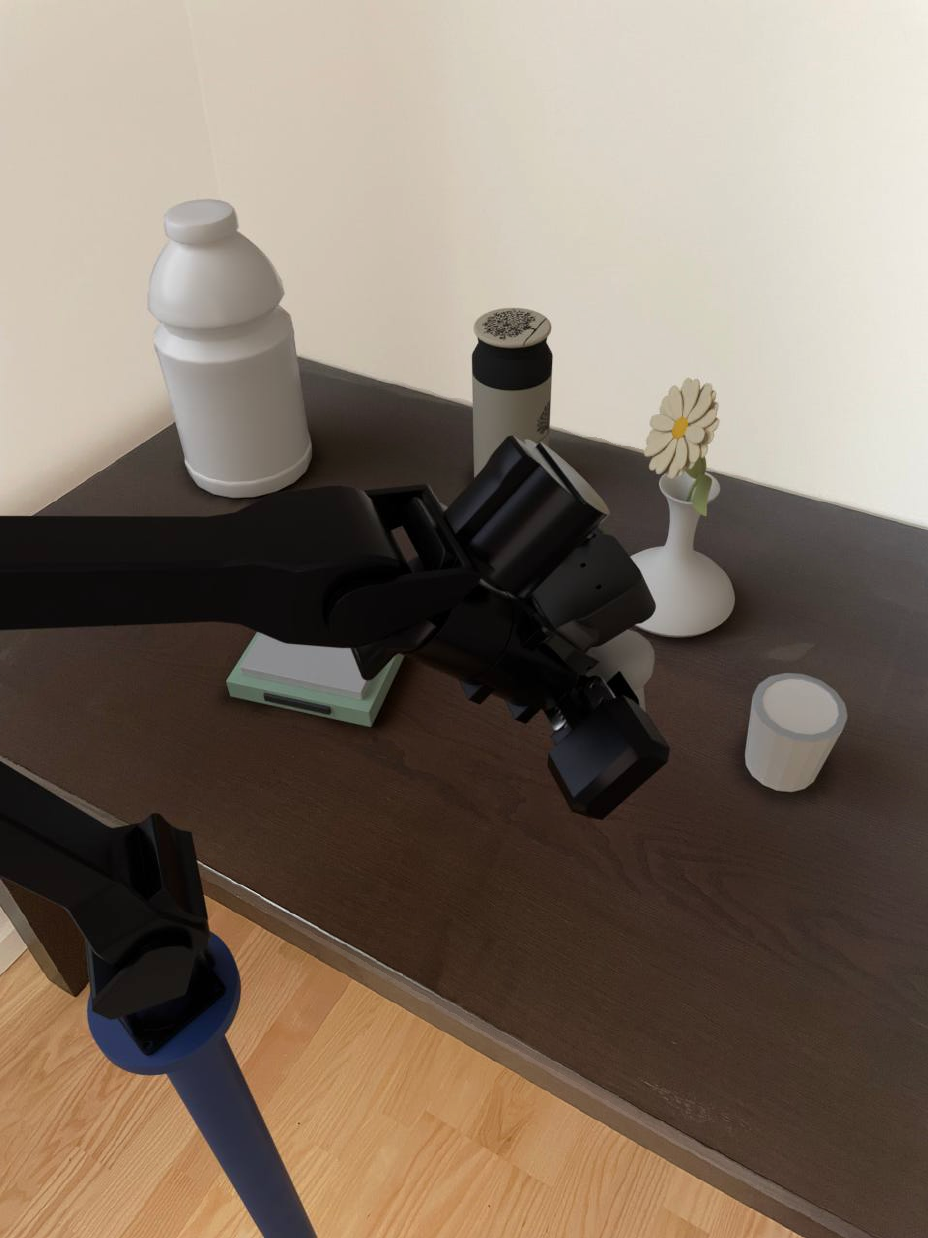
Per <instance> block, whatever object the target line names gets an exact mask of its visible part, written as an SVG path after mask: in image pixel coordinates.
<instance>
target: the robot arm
mask: <svg viewBox="0 0 928 1238" xmlns="http://www.w3.org/2000/svg"><path fill="white" fill-rule="evenodd" d="M610 512H611V511H610V509H609V507H608V506H607V504H606V503H605V502H604V500H603V499H602V497H601V496H600V495H599V493H598V492H596V490H595V489H594V488H593V487H592V485H590V484H589V482H588V481H586V479H584V477H582V476H581V475H580V474H579V472H577V471H576V470H575V469H574V468H573V467H572V466H571V464H569V463H568V462H567V461H566V460H564V459H563V457H561V456H560V455H559V454H557V453H556V452H555V451H554V450H552V449H551V448H550V446H549V447H547V446H546V445H545V444H543V443H542V442H539V443H538V444H536V443H534V442H533V441H531V440H528V439H526V440H524V441H523V442H522V441H520V440H519V439H517V438H516V437H515V436H513V435H511V436H507V437H506V439H505V440H504V441H503V442H502V443H501V444H500V445H499V446H498V447H497V449H496V450H495V451H494V452H493V453H492V455H491V456H490V458H489V460H488V462H487V463H486V465H485V466H484V468H483V469H482V470H481V471H480V472H479V473H478V474H477V476H476V477H475V478H474V477H473V479H472V480H471V481H470V482H469V484H467V486H465V488H464V489H462V491H461V492H460V493H459V495H457V497H456V498H455V499H453V501H452V502H451V503H450V505H448V506H447V505H445V504H444V503H442V502H440V501H439V499H438V498H437V496H436V494H435V492H434V491H433V489H432V487H431V486H430V484H427V483H421V484H411V485H402V486H391V487H382V488H373V489H363V490H361V489H358V488H356V487H352V486H347V485H342V484H341V485H339V484H338V485H326V486H319V487H311V488H304V489H297V490H296V489H295V490H288V491H281V492H272V493H269V494H267V495H266V496H264V497H262V498H260V499H258V500H257V501H255V502H253V503H250V504H248V505H247V506H245V507H242V508H241V509H239V510H236V511H235V512H229V513H221V514H214V515H205V516H204V515H203V516H201V515H199V516H195V515H193V516H191V515H188V516H185V515H183V516H181V515H172V516H171V515H0V632H1V631H2V632H3V631H23V630H24V631H25V630H28V631H29V630H46V629H47V630H48V629H71V628H73V629H74V628H96V627H99V628H100V627H117V626H118V627H119V626H124V627H125V626H146V625H148V626H149V625H169V624H193V623H222V624H231V625H232V624H233V625H240V626H243V627H244V628H248V629H250V630H252V631H254V632H256V633H257V632H259V633H261V634H264V635H266V636H268V637H271V638H273V639H275V640H278V641H280V642H283V643H286V644H296V645H308V646H320V647H332V648H350V649H351V652H352V654H353V657H354V659H355V662H356V664H357V667H358V669H359V672H360V674H361V677H362V678H363V679H364V680H366V681H369V680H372V679H374V678H375V677H376V676H377V674H378V673H379V672H380V671H381V670H382V669H383V668H384V667H385V666H386V665H387V664H388V663H389V662H390V661H391V660H392V659H393V658H394V657H395V656H396V655H397V654H401V655H404V657H406V658H409V659H411V660H413V661H414V662H417V663H419V664H422V665H424V666H426V667H428V668H431V669H433V670H435V671H438V672H441V673H443V674H445V675H447V676H449V677H451V678H454V679H456V680H458V683H459V684H460V686H461V688H462V690H463V692H464V695H465V696H466V698H467V700H468V701H470V702H472V703H475V704H476V705H479V706H480V705H481V704H483V702H484V701H486V699H488V697H490V696H491V695H493V696H494V697H497V698H500V699H502V700H504V703H505V704H506V706H507V707H508V709H509V712H510V713H511V715H512V717H513V719H514V720H515V721H517V722H520V723H522V724H524V725H526V724H528V722H530V720H532V719H533V718H534V717H535V716H536V715H537V714H538V713H539V712H540V711H543V713H544V715H545V717H546V718H547V720H548V722H549V724H550V726H551V727H552V729H553V730H554V731H553V733H551V735H550V738H551V740H552V742H553V744H554V745H555V746H553V747H552V748H551V749H550V750H549V751H548V753H547V764H546V767H547V769H548V770H549V772H550V774H551V777H552V778H553V780H554V781H555V784H556V785H557V788H558V789H559V791H560V793H561V795H562V796H563V799H564V800H565V802H566V804H567V806H568V807H569V810H570V811H571V812H572V813H575V814H577V815H579V816H583V817H586V818H588V819H591V820H592V819H594V820H600V821H603V820H604V819H605V818H606V817H608V816H609V815H610V814H611V813H612V812H613V811H614V810H616V809H617V808H618V807H619V806H621V804H622V803H623V802H625V801H626V800H628V798H629V797H630V796H631V795H633V794H634V793H635V792H636V791H637V790H638V789H639V788H641V786H642V785H645V783H646V782H648V781H649V779H650V778H652V777H653V776H654V775H655V774H656V773H657V772H659V771H660V770H661V769H662V768H663V767H664V766H665V765H666V764H667V763H668V762H669V757H670V753H671V752H670V751H671V747H670V745H669V744H668V742H667V741H666V739H665V737H663V735H662V733H661V732H660V730H659V729H658V727H657V726H656V725H655V723H654V721H653V720H652V718H651V717H650V715H649V714H648V713H647V711H646V712H645V711H644V710H643V709H642V708H641V707H640V703H639V699H638V697H637V696H636V694H635V693H634V691H633V690H632V688H631V687H630V685H629V684H628V682H627V681H626V679H625V678H624V676H623V675H622V673H621V672H620V671H618V672H617V673H616V674H615V675H614V676H613V677H612V678H611V679H610V680H609V681H608V682H607V683H606V681H605V680H604V679H603V678H602V677H600V676H598V675H593V676H590V677H589V675H588V673H589V672H590V671H591V670H592V669H593V668H594V667H595V666H596V665H597V664H598V663H599V662H600V661H599V659H598V658H597V656H596V655H595V653H594V651H592V650H590V648H591V647H599V646H601V645H603V644H605V643H607V642H608V641H610V640H611V639H613V638H615V637H616V636H618V635H620V634H621V633H623V632H624V631H626V630H630V629H631V628H633V627H634V626H635V625H636V624H641V623H643V622H645V621H646V620H648V619H649V618H650V617H651V616H652V615H653V614H654V612H655V609H656V603H655V601H654V599H653V597H652V594H651V592H650V590H649V588H648V586H647V584H646V582H645V579H644V577H643V575H642V573H641V571H640V569H639V568H638V566H637V565H636V564H635V562H634V561H633V560H632V559H631V557H630V554H628V552H627V551H626V549H625V548H624V546H622V544H621V543H620V542H619V540H618V539H617V538H616V537H615V536H614V535H611V534H609V533H607V532H606V531H605V530H603V529H601V528H600V527H599V526H600V525H601V524H602V523H603V522H604V521H605V520H606V519H607V518H608V517H609V516H610ZM401 527H402V529H404V531H405V533H406V535H407V538H408V540H409V541H410V543H411V545H412V547H413V549H414V551H415V553H416V554H417V556H414V557H413V558H411V559H410V560H408V561H407V559H406V558H405V555H404V553H403V551H402V550H401V547H400V546H399V544H398V542H397V539H396V538H395V536H394V533H393V532H392V531H393V530H396V529H398V528H401ZM198 863H199V862H198V859H197V853H196V848H195V842H194V838H193V832H192V831H189V830H184V829H181V828H177V827H176V826H173V825H172V824H170V823H169V822H168V821H167V820H166V819H165V818H164V817H163V816H162V814H160V813H157V812H153V813H151V814H150V815H148V816H147V817H146V818H144V820H142V821H141V822H137V823H132V824H126V825H122V826H116V827H111V826H108V825H107V824H105V823H103V822H102V821H100V820H98V819H97V818H95V817H93V816H92V815H90V814H88V813H87V812H85V811H83V810H82V809H80V808H78V807H77V806H76V805H74V804H72V803H70V802H69V801H68V800H65V799H64V798H62V797H61V796H59V795H58V794H56V793H54V792H52V791H50V790H49V789H48V788H46V787H45V786H42V785H41V784H39V783H37V782H36V781H35V780H33V779H31V778H29V777H28V776H26V775H24V774H23V773H21V772H19V771H18V770H16V769H15V768H13V767H12V766H10V765H9V764H6V763H5V762H3V761H1V760H0V877H1V878H2V879H5V880H7V881H9V882H10V883H13V884H15V885H17V886H19V887H21V888H23V889H25V890H27V891H30V892H31V893H33V894H35V895H37V896H40V897H42V898H43V899H45V900H48V901H49V902H51V903H53V904H55V905H58V906H59V907H62V908H63V909H64V910H65V911H66V912H67V913H68V914H69V916H70V917H71V919H72V920H73V922H74V924H75V926H76V927H77V929H78V930H79V932H80V934H81V935H82V936H83V938H84V940H85V941H84V942H85V949H86V950H85V951H86V961H87V962H86V963H85V966H86V969H87V973H88V982H89V993H90V996H91V1007H92V1011H93V1012H94V1013H97V1014H99V1015H101V1016H103V1017H105V1018H107V1019H109V1020H114V1019H118V1021H119V1022H120V1023H121V1025H122V1026H123V1028H124V1029H125V1030H126V1032H127V1033H128V1034H129V1036H130V1037H131V1038H132V1040H133V1041H134V1043H135V1044H136V1045H137V1047H138V1048H139V1049H140V1051H141V1052H142V1053H143V1054H144V1055H146V1056H149V1055H152V1054H153V1053H155V1052H156V1051H157V1050H158V1049H159V1048H161V1047H162V1046H163V1045H164V1044H165V1043H167V1042H168V1041H169V1040H170V1039H172V1038H173V1037H174V1036H175V1035H176V1034H178V1033H179V1032H180V1031H181V1030H182V1029H184V1028H185V1027H186V1026H187V1025H188V1024H190V1023H191V1022H192V1021H193V1020H195V1019H196V1018H197V1017H198V1016H199V1015H201V1014H202V1013H203V1012H204V1011H205V1010H207V1009H208V1008H209V1007H210V1006H211V1005H213V1004H214V1003H215V1002H216V1001H218V1000H219V999H220V998H221V997H222V996H223V995H224V994H225V992H226V987H225V985H224V983H223V982H222V981H221V980H220V978H219V977H218V976H217V975H216V974H215V972H214V971H213V970H212V968H214V967H215V964H216V961H215V958H214V956H213V954H212V951H211V949H210V947H209V944H208V942H209V940H210V939H211V934H210V931H211V929H210V924H209V915H208V909H207V906H206V904H207V903H206V899H205V894H204V889H203V885H202V884H203V883H202V879H201V874H200V869H199V864H198ZM217 988H221V990H220V991H219V992H215V990H216V989H217ZM149 1044H151V1045H152V1046H151V1048H150V1049H148V1050H146V1049H145V1048H146V1046H147V1045H149Z"/></svg>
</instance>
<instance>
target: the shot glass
mask: <svg viewBox="0 0 928 1238" xmlns="http://www.w3.org/2000/svg"><path fill="white" fill-rule="evenodd" d="M848 717H849V716H848V712H847V706H846V703H845V702H844V700H843V699H842V697H841V696H840V695H839V693H838V692H837V691H836V690H835V689H834V688H832V687H831V686H829V685H828V683H825V682H824V681H823V680H821V679H818V678H815V677H812V676H809V675H807V674H805V673H794V672H793V673H792V672H784V673H783V672H782V673H779V674H774V675H770V676H768V677H766V679H763V681H761V682H760V683H758V684H757V686H756V688H755V690H754V692H753V694H752V700H751V707H750V714H749V720H748V721H749V722H748V729H747V736H746V743H745V751H744V759H745V760H744V761H745V766H746V768H747V770H748V772H749V773H750V775H751V777H752V778H754V779H755V780H756V781H758V782H759V783H760V784H761V785H762V786H765V787H767V788H769V789H772V790H774V791H776V792H786V793H794V792H798V791H802V790H805V789H806V788H808V787H809V786H810V785H811V784H813V783H814V782H815V780H816V778H817V777H818V775H819V773H820V771H821V770H822V769H823V766H824V764H825V762H826V760H827V758H828V757H829V755H830V753H831V751H832V750H833V748H834V746H835V744H836V743H837V741H838V739H839V738H840V735H841V733H842V732H843V730H844V727H845V725H846V723H847V720H848Z"/></svg>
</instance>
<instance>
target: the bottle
mask: <svg viewBox="0 0 928 1238" xmlns="http://www.w3.org/2000/svg"><path fill="white" fill-rule="evenodd" d="M238 219H239V218H238V215H237V212H236V209H235V208H234V206H232V204H230V203H229V202H227V201H225V200H221V199H213V198H204V199H194V200H188V201H184V202H181V203H178V204H175V205H173V206H172V207H170V208H168V209H167V210H166V212H165V213H164V214H163V228H164V233H165V235H166V237H167V238H168V239H169V241H168V242H167V243H166V244H165V245H164V247H163V248H162V249H161V251H160V253H159V254H158V256H157V258H156V260H155V262H154V264H153V267H152V270H151V272H150V277H149V281H148V290H147V297H146V299H147V300H146V303H147V304H146V306H147V310H148V311H149V313H150V314H151V315H152V316H153V317H154V318H155V320H156V321H159V323H158V325H157V326H156V328H155V329H154V330H153V346H154V351H155V353H156V356H157V359H158V363H159V366H160V370H161V373H162V377H163V381H164V384H165V388H166V393H167V395H168V400H169V404H170V407H171V411H172V414H173V418H174V423H175V425H176V430H177V433H178V437H179V441H180V444H181V448H182V451H183V455H184V465H185V467H186V469H187V471H188V472H187V473H188V474H189V476H190V477H191V478H192V480H193V481H194V482H195V484H196V485H197V486H198V487H199V488H201V489H202V490H204V491H206V492H208V493H210V494H212V495H216V496H220V497H226V498H230V499H231V498H232V499H240V498H241V499H242V498H256V497H257V498H258V497H260V496H265V495H270V494H273V493H277V492H278V491H280V490H282V489H284V488H286V487H289V486H290V485H293V484H294V483H295V482H297V480H299V479H300V478H301V477H302V476H303V475H304V474H305V473H306V472H307V470H308V468H309V465H310V463H311V461H312V458H313V445H312V440H311V434H310V432H309V429H308V421H307V414H306V408H305V401H304V394H303V388H302V382H301V375H300V368H299V361H298V355H297V348H296V340H295V330H294V326H293V325H294V323H293V320H292V316H291V314H290V313H289V312H288V311H287V310H286V309H285V308H284V307H283V306H282V305H280V302H281V301H282V299H284V296H285V295H286V293H285V292H286V291H285V288H284V283H283V279H282V277H281V276H280V275H279V272H278V271H277V269H276V267H275V265H274V264H273V262H272V261H271V259H270V258H269V257H268V256H267V255H266V253H265V252H264V251H262V249H261V248H259V246H257V244H255V243H254V242H253V241H251V240H250V239H249V238H248V237H247V236H246V235H244V234H243V233H242V232H240V231H238V230H239V228H240V225H239V220H238Z"/></svg>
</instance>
